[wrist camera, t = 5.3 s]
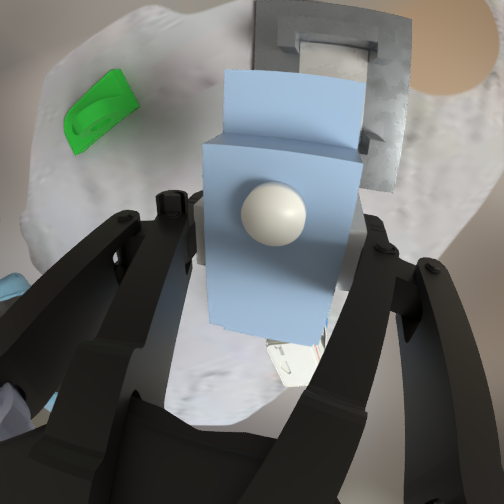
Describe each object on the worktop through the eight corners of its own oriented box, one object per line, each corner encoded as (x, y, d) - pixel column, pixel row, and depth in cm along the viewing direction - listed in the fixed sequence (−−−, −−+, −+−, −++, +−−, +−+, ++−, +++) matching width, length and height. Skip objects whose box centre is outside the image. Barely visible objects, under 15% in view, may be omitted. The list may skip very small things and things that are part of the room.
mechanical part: (121, 69, 29) (78, 72, 22) (140, 106, 31) (99, 115, 25) (68, 118, 34) (27, 132, 27) (84, 151, 36) (45, 169, 29)
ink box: (328, 319, 42) (324, 386, 32) (295, 323, 43) (284, 389, 34) (315, 271, 38) (309, 339, 28) (279, 278, 40) (263, 344, 30)
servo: (249, 268, 21) (208, 364, 14) (260, 74, 14) (195, 67, 7) (319, 281, 20) (306, 385, 13) (351, 84, 13) (378, 82, 6)
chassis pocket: (252, 172, 33) (239, 188, 28) (257, 1, 22) (244, -14, 18) (392, 192, 30) (403, 211, 26) (410, 20, 20) (426, 9, 15)
